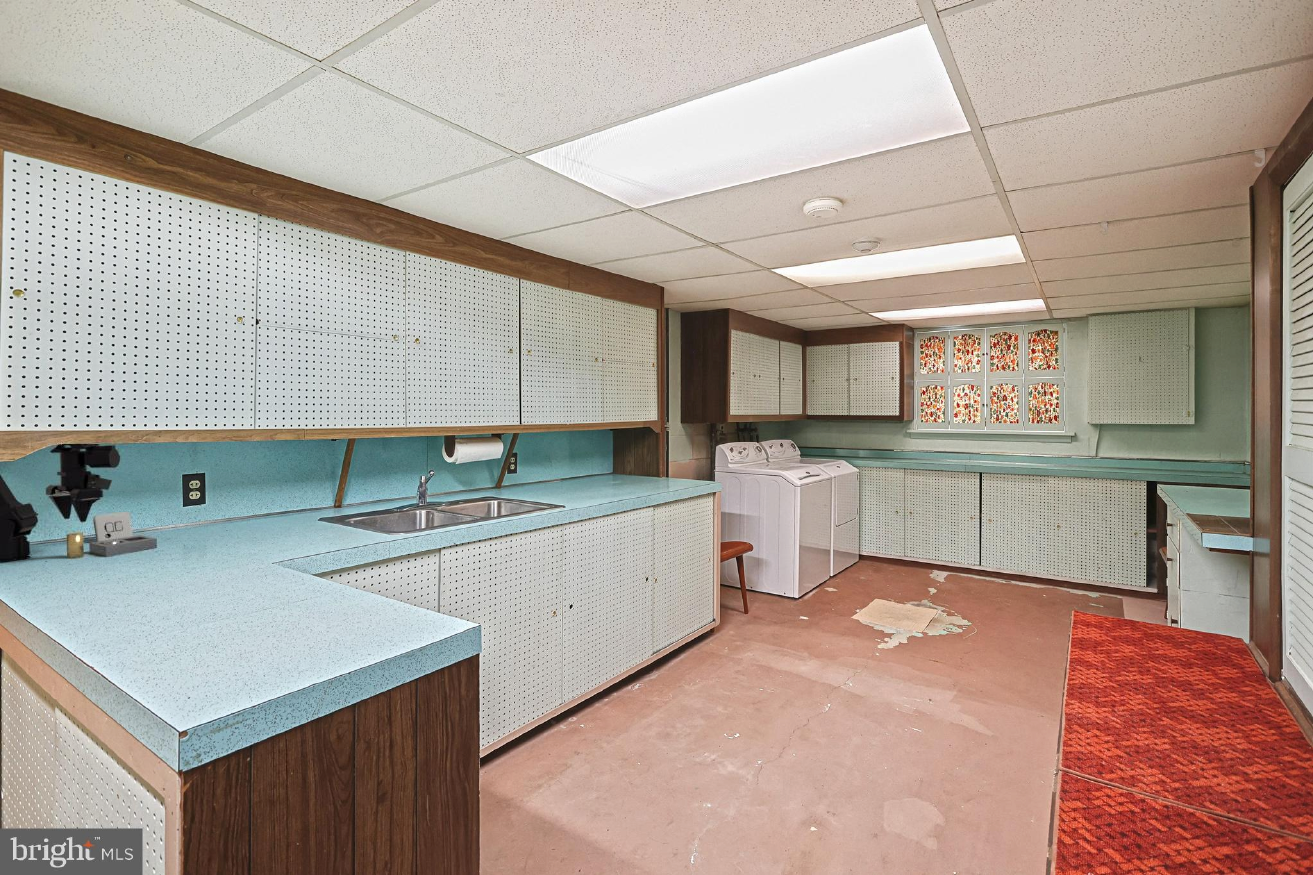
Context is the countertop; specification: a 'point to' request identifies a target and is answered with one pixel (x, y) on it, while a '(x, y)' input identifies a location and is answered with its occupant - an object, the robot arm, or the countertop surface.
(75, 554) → the gold domed cylinder
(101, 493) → the robot arm
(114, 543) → the silver round knob
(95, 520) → the electrical switch
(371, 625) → the countertop surface
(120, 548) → the jig
